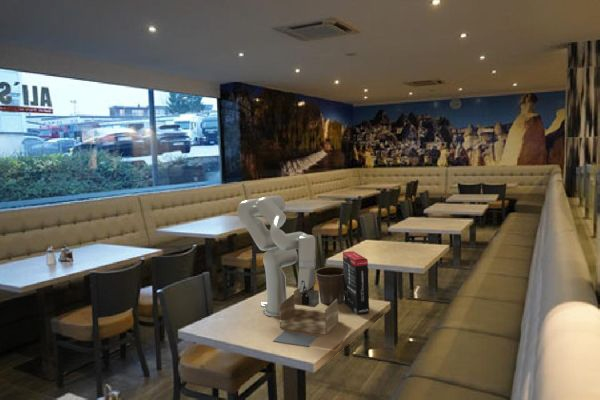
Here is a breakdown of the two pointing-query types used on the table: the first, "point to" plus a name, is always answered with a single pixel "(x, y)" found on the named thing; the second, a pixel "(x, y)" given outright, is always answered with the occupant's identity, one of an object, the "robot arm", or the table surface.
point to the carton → (307, 317)
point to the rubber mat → (295, 339)
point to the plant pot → (331, 284)
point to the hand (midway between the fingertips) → (307, 302)
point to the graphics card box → (356, 282)
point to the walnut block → (312, 298)
